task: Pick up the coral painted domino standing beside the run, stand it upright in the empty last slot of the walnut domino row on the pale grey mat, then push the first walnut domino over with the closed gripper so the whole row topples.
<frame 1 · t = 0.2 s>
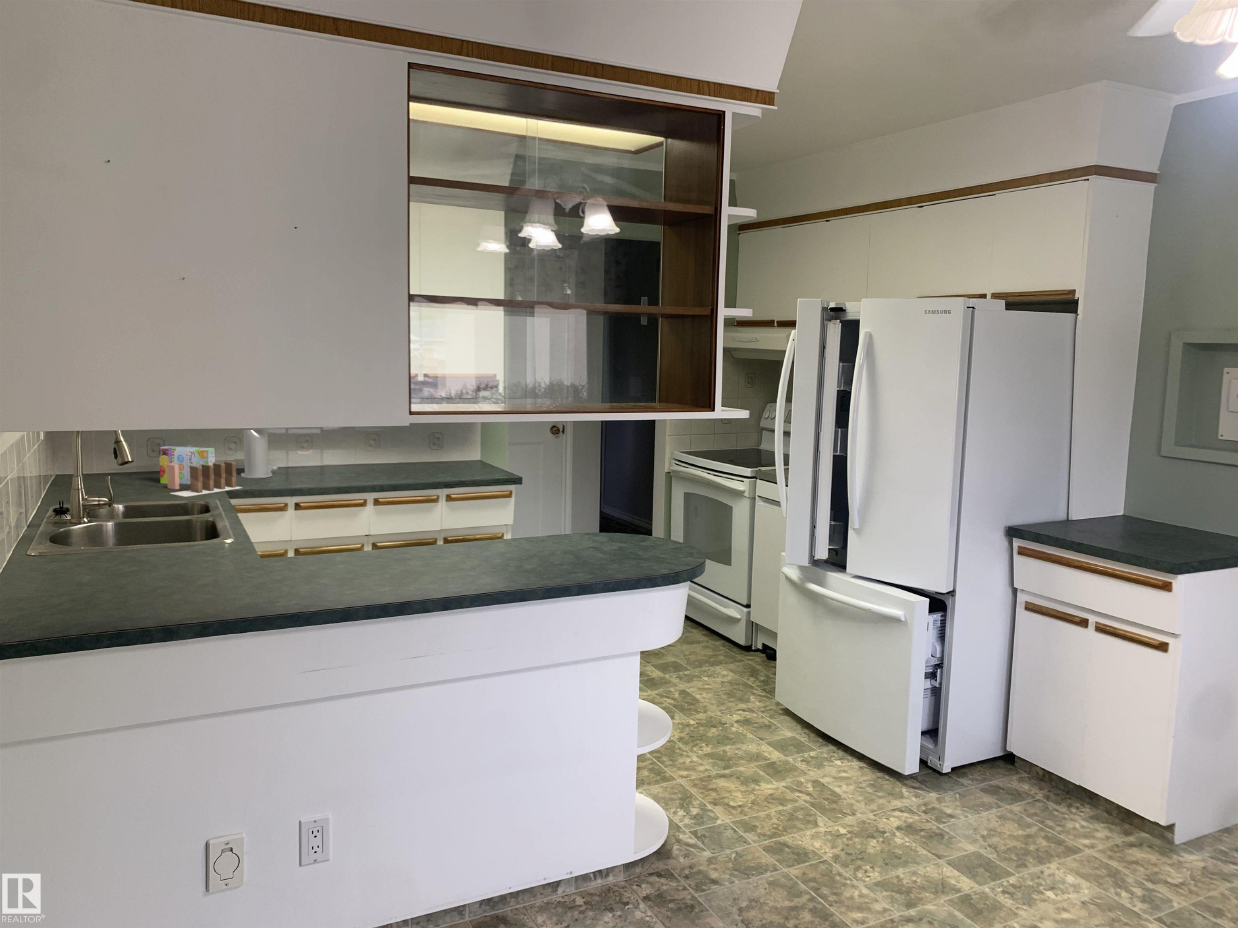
hand: (202, 395, 357), 36 cm above the worktop, tool pointing down, fingers open, 9 cm apart
domino 1: (230, 486, 356), resting on domino mat
domino mat: (207, 491, 347), on the worktop
domino 3: (208, 490, 347), resting on domino mat
snack box: (188, 484, 362), on the worktop
domino 4: (196, 491, 343), resting on domino mat
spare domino: (173, 489, 349), on the worktop
domino 2: (219, 488, 352), resting on domino mat
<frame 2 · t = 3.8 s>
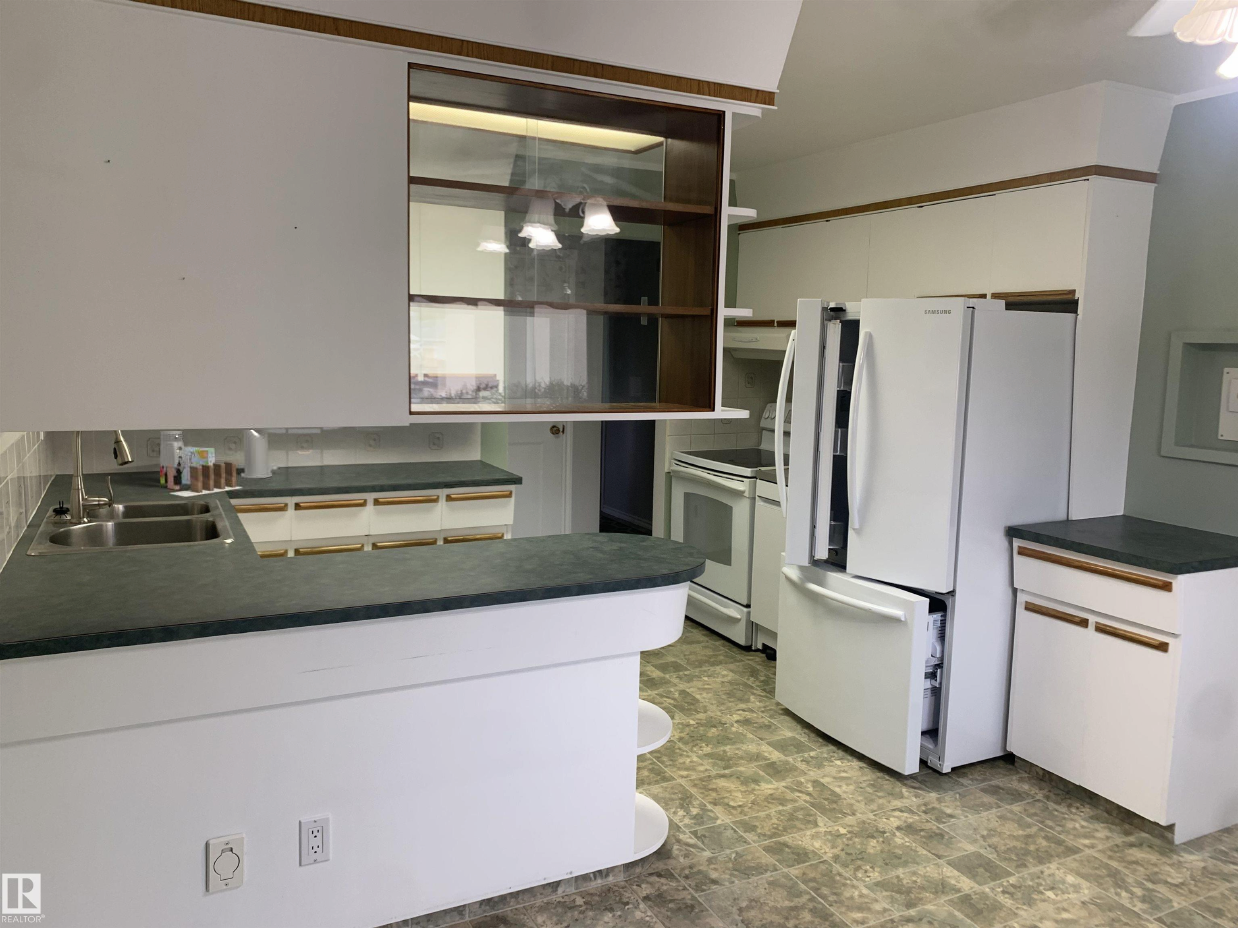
hand: (173, 483, 348), 2 cm above the worktop, tool pointing down, fingers closed on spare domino, 4 cm apart
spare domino: (173, 489, 349), on the worktop, touching gripper
everything else where it was.
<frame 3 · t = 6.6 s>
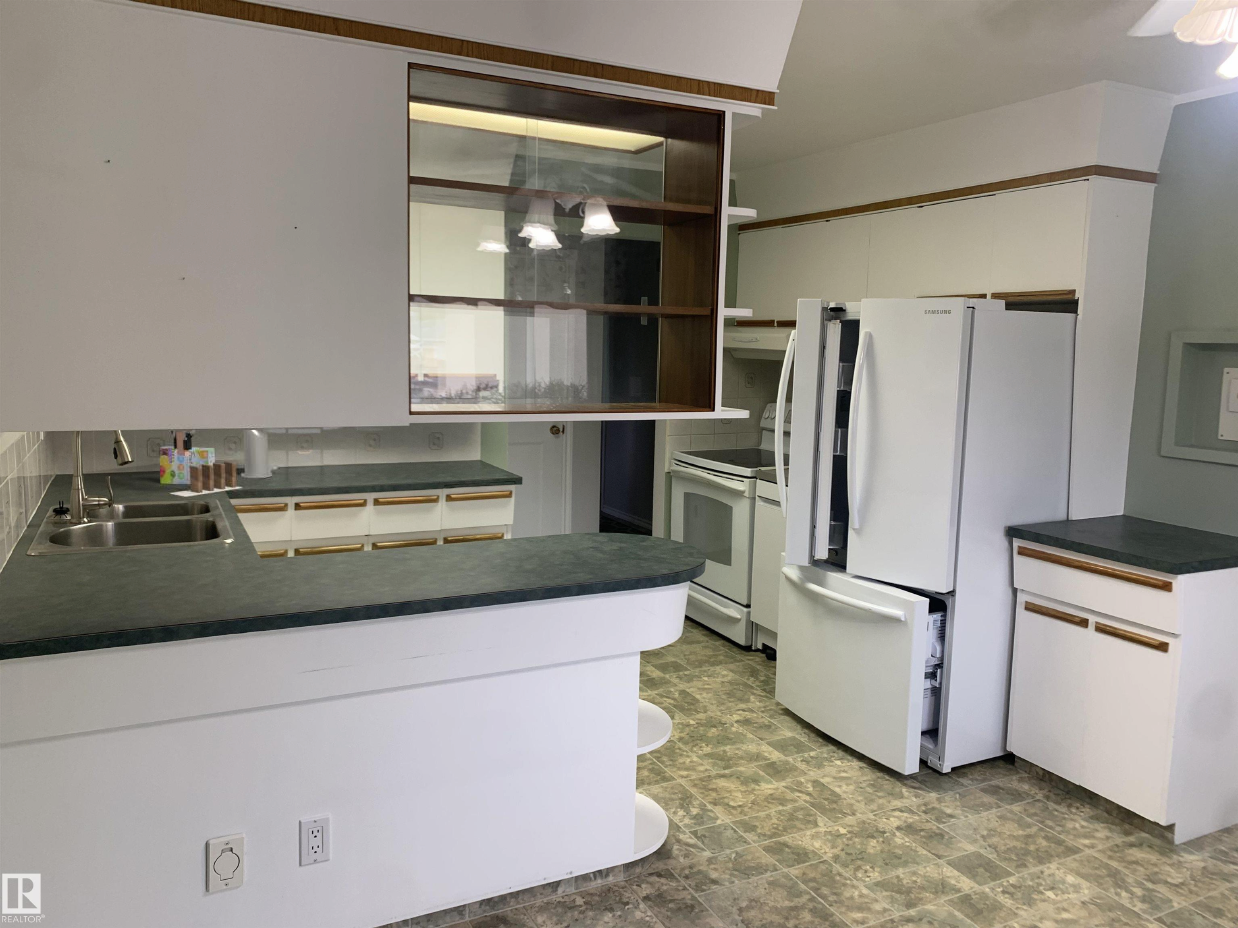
hand: (182, 448, 336), 18 cm above the worktop, tool pointing down, fingers closed on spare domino, 4 cm apart
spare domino: (183, 455, 336), point 16 cm above the worktop, touching gripper
everything else where it was.
when the fingers open (4 cm above the worktop, at t = 9.5 s): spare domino stays where it is, resting on domino mat.
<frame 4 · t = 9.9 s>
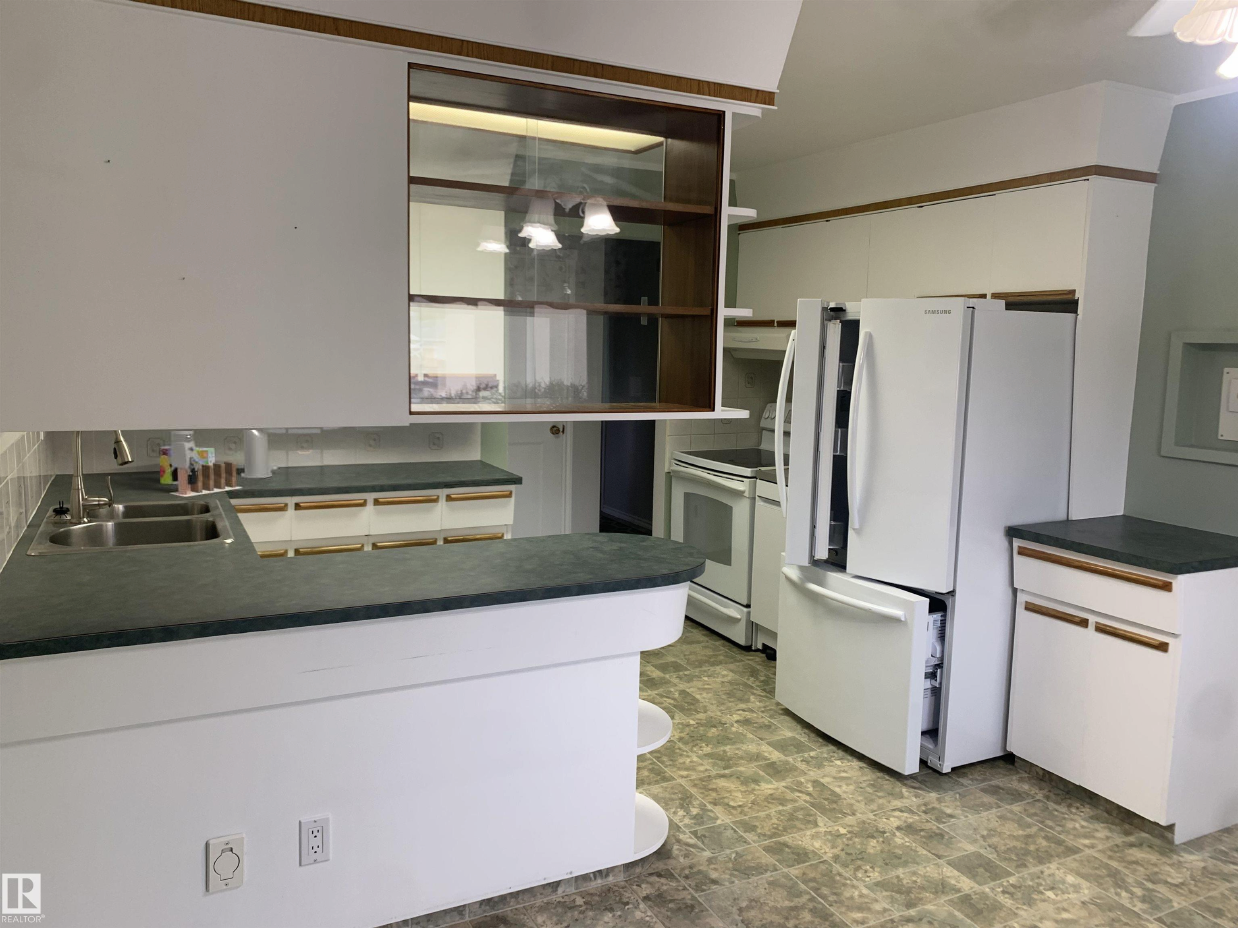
hand: (184, 482, 338), 5 cm above the worktop, tool pointing down, fingers open, 9 cm apart
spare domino: (184, 493, 339), resting on domino mat
everything else where it was.
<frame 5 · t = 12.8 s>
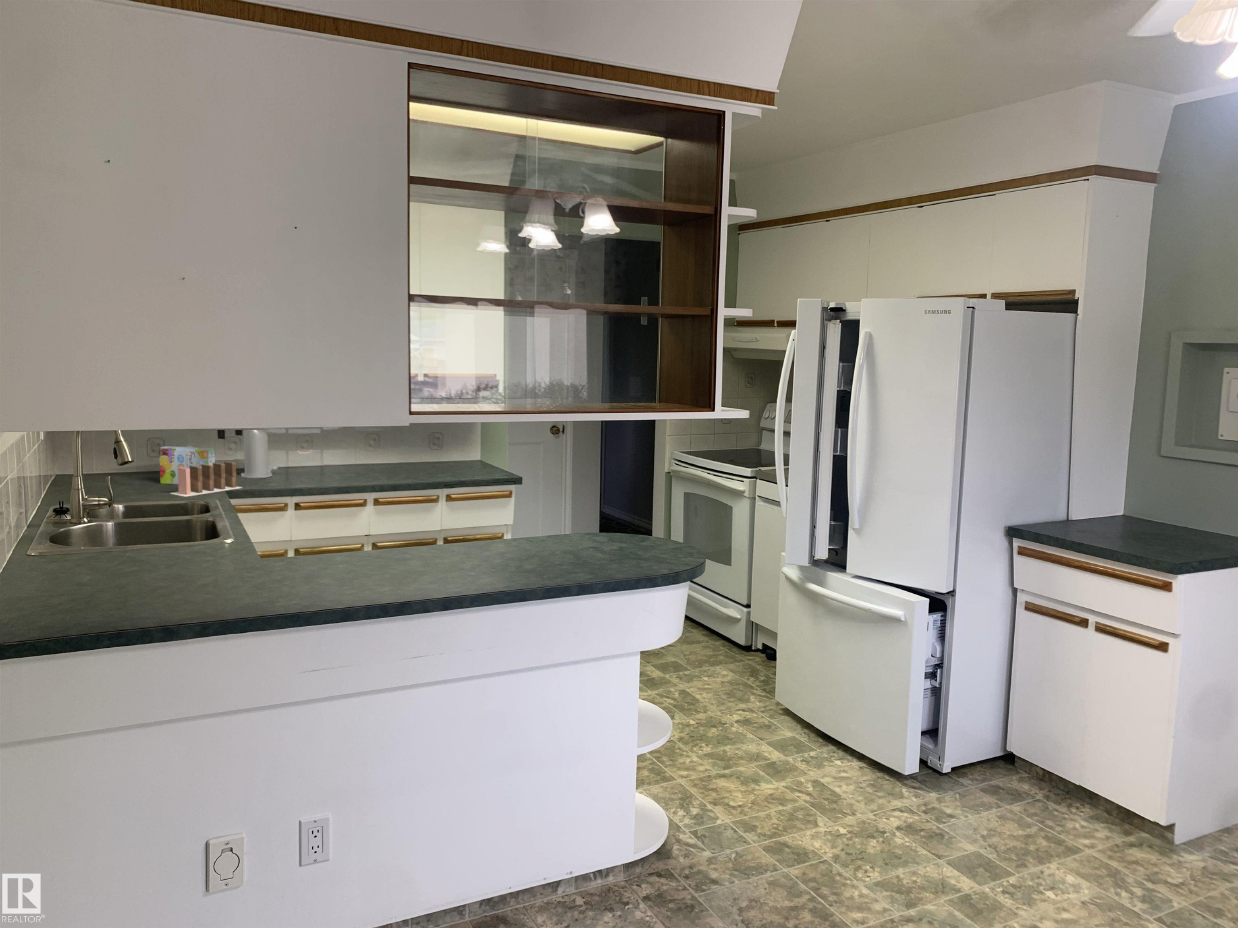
hand: (230, 437, 354), 21 cm above the worktop, tool pointing down, fingers open, 9 cm apart
nothing on the worktop moved.
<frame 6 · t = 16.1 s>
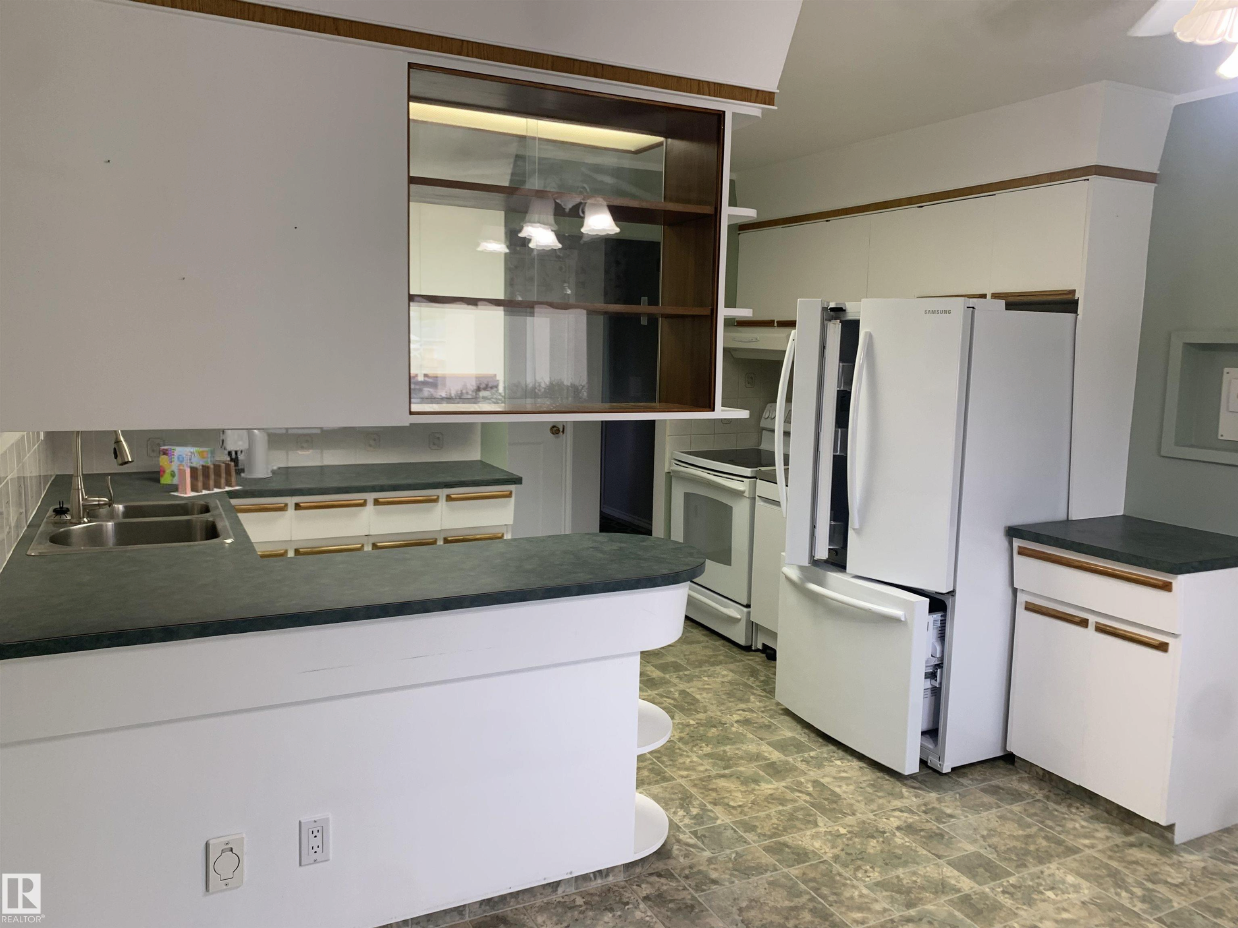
hand: (234, 467, 356), 8 cm above the worktop, tool pointing down, fingers closed
nothing on the worktop moved.
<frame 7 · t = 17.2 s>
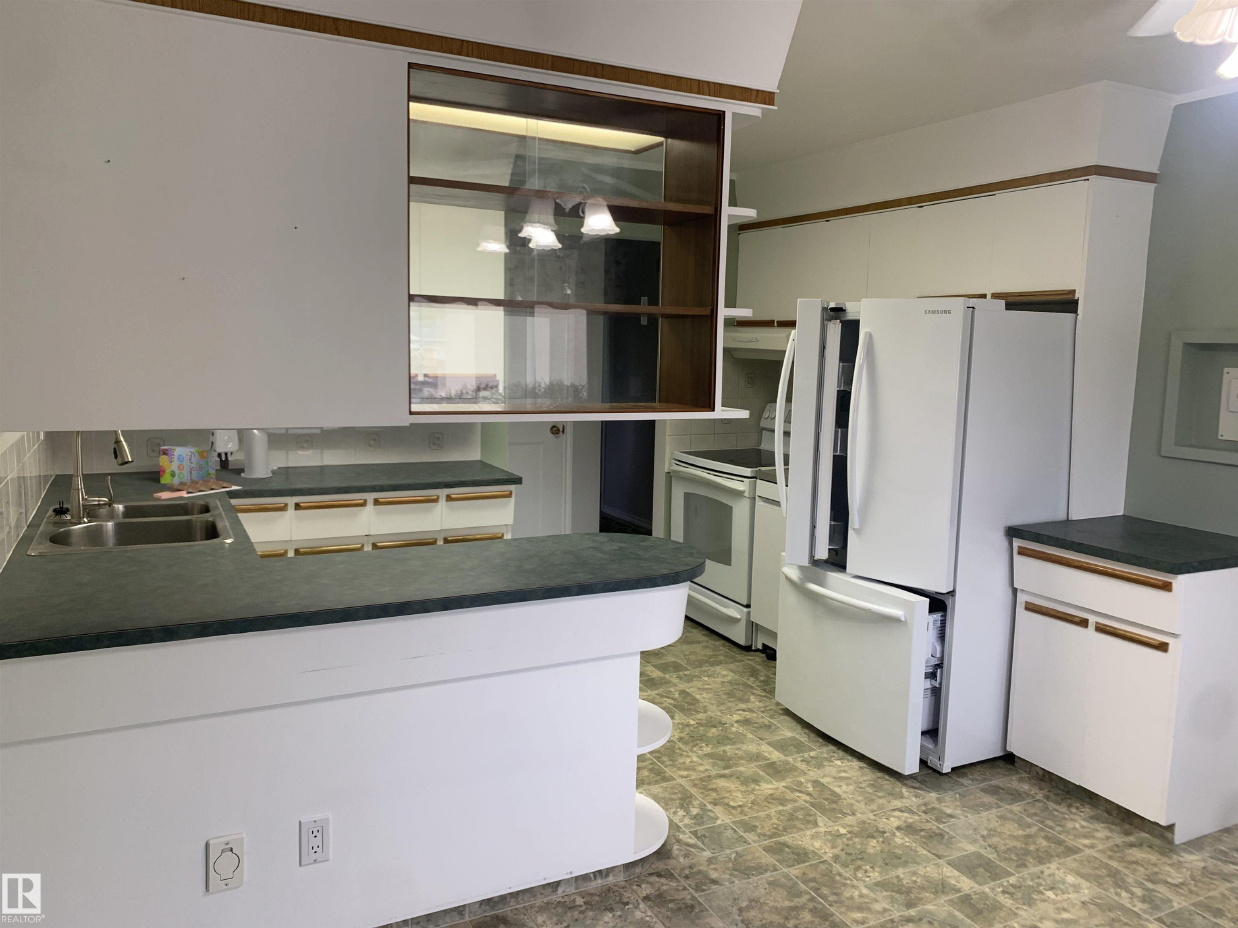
hand: (224, 468, 353), 8 cm above the worktop, tool pointing down, fingers closed
domino 1: (228, 485, 355), point 1 cm above the worktop, tilted 71°, touching domino 2, domino mat
domino 3: (205, 488, 346), point 1 cm above the worktop, tilted 71°, touching domino 2, domino 4, domino mat
domino 4: (193, 490, 342), point 1 cm above the worktop, tilted 71°, touching domino 3, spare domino
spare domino: (182, 491, 338), point 1 cm above the worktop, tilted 94°, touching domino 4, domino mat
domino 2: (217, 486, 351), point 1 cm above the worktop, tilted 71°, touching domino 1, domino 3, domino mat
everything else where it was.
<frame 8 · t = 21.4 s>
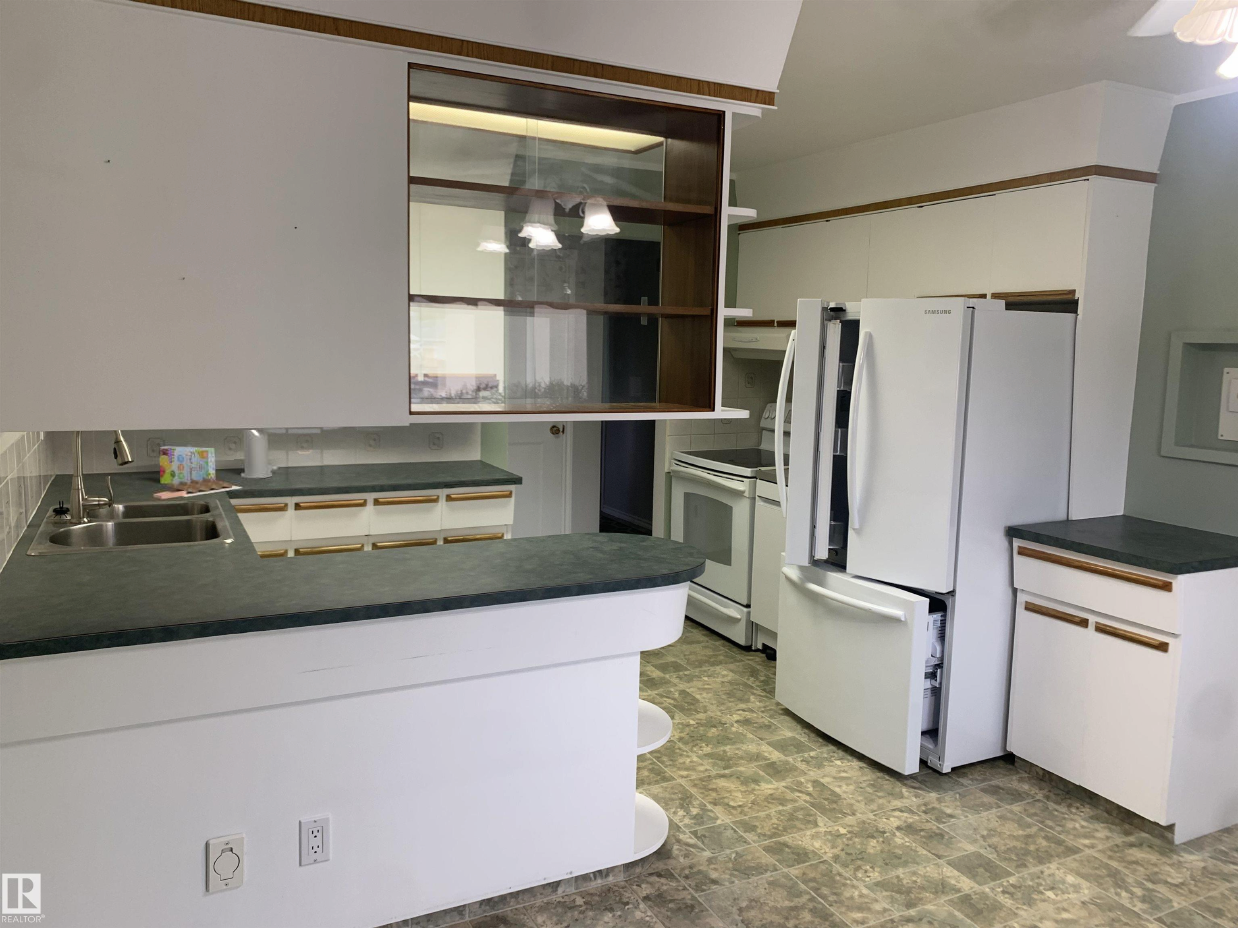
hand: (221, 423, 360), 25 cm above the worktop, tool pointing down, fingers closed
nothing on the worktop moved.
at the end: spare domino tilted 94°; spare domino inside the target area (3.9 cm from its centre), point 1.4 cm above the worktop; domino 1 tilted 71° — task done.
